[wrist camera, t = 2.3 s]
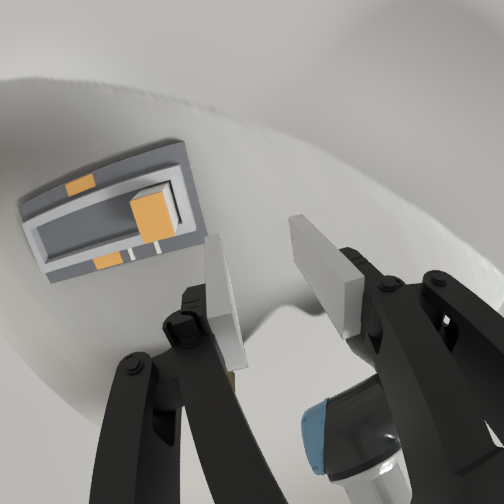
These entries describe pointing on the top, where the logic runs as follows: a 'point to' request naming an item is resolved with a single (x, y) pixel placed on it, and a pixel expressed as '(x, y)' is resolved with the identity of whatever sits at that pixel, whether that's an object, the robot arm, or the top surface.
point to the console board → (110, 215)
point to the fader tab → (155, 212)
